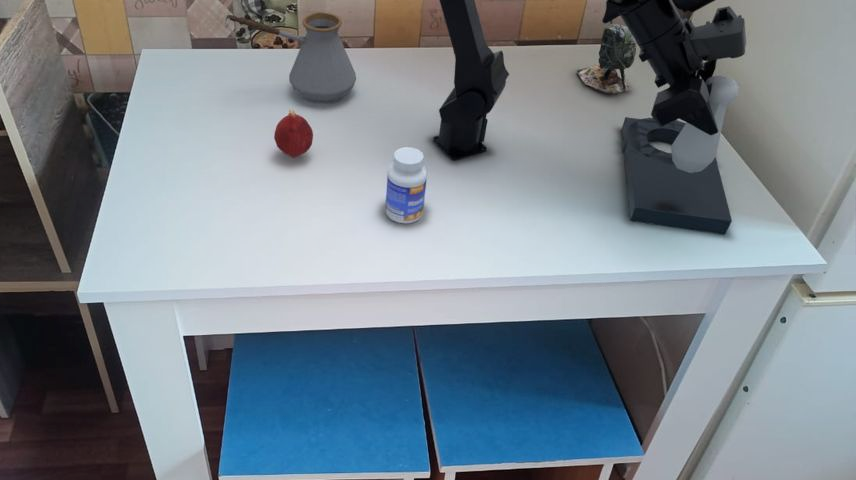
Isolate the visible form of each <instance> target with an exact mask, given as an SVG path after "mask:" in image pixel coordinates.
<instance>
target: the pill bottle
mask: <svg viewBox="0 0 856 480" xmlns="http://www.w3.org/2000/svg"><path fill="white" fill-rule="evenodd" d="M424 157H425V156H424V153H423V152H422V150H419V149H418V148H415V147H412V146H406V147H400V148H398V149H396V151H394V154H393V159H392V164H390V166H389V167H388V170H387V175H386V194H385V205H384V206H385V208H384V209H385V213H386V216H387V217H388V218H389V219H390V220H392V221H394V222H396V223H399V224H412V223H415V222H416V221H418V220H420V219H421V218H422V216H423V214H424V208H425V200H426V199H425V198H426V189H427V180H428V172H427V171H428V170H427V169H426V167H425V166H424V163H425V162H424V159H425V158H424Z"/></svg>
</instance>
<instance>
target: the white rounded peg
mask: <svg viewBox="0 0 856 480" xmlns="http://www.w3.org/2000/svg"><path fill="white" fill-rule="evenodd" d="M711 83H713V85H712V91H711V95H710V96H709V98H708V102H709V105H710V107H711V110H712V113H713V116H714V118H715V121H716V124H717V127H718V133H716V134H714V135H709V134H707V133H705V132H703V131H701V130H700V129H698V128H696V127H694V126H692V125H691V124H689V123H687V122H685V123H686V124H685V126H684V127H683V129H682V130H681V132H680V133H679V135H678V137H677V138H676V140H675V141H674V143H673V144H671V148H670V149H671V153H672V161H673V162H674V164H675V165H676V167H677V168H678V169H680V170H683V171H686V172H689V173H694V172H699V171H702V170H703V169H705V168H706V167H707V166H708V165H709V164H710V163H712V161H713V160H714V158H715V156H716V157H717V153H718V148H719V144H720V138H721V135H722V129H723V125H724V120H725V115H726V111H727V108H728V105H729V104H732V103H733V102H734V101H735V100H736V98H737V96H738V94H739V91H740V87H739V85H738V83H737V81H735V80H734V79H732V78H731V77H728V76H724V75H713V76H712V77H710V78H708V79H707V80H706V81H705V84H706V85H708V84H711Z"/></svg>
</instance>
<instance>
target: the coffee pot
mask: <svg viewBox="0 0 856 480" xmlns="http://www.w3.org/2000/svg"><path fill="white" fill-rule="evenodd" d="M230 21H231V22H237V23H239V25H240V26H242V25H245V26H247V27H249V28H251V29H253V30H255V31H260V32H263V33H268V34H272V35H276V36H280V37H283V38H287V39H290V40H292V41H295V42H298V43H301V45H300V48H299V50H298V52H297V55H296V58H295V60H294V63H293V65H292V67H291V70H290V72H289V75H288V76H289V77H288V78H289V79H288V81H289V83H290V85H291V87H292V88H293V90H294V91H295V92H296V93H297V94H298V95H300V96H301V97H302V98H303V99H304V100H306V101H308V102H311V103H315V104H331V103H335V102H338V101H339V100H341V99H343V97H345V96H346V95H347V94H349V93H350V92H351V91H352V90H353V88H354V86H355V84H356V81H357V75H356V70H355V69H354V67H353V65H352V62H351V60H350V58H349V55H348V52H347V50H346V48H345V46H344V44H343V42H342V39H341V37H340V34H339V30H340V28H341V27H342V25H343V20H342V19H341V18H340V16H338V15H336V14H333V13H330V12H323V11H315V12H313V13H310V14H308V15H306V16H305V17H303V19H302V22H301V23H302V26H303V27H304V28H305V32H306V33H305V35H304V36H302V35H298V34H294V33H291V32H288V31H284V30H280V29H279V28H276V27H273V26H271V25H268V24H265V23H262V22H260V21H257V20H251V19H246V18H245V17H243V16H240V17H238V16H236V15H233V14H227V15H226V17H225V21H224V28H228V27H229V24H230Z"/></svg>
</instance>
